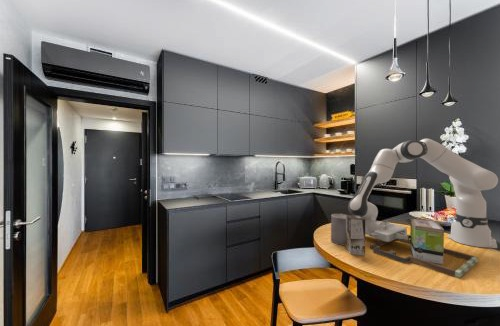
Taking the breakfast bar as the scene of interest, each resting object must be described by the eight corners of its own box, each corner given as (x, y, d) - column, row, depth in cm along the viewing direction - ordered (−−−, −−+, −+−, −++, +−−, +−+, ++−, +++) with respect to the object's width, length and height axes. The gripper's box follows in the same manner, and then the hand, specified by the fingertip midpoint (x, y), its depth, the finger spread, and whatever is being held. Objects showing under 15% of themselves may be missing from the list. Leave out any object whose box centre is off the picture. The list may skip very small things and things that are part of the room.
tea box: (444, 265, 89) (444, 229, 89) (413, 259, 94) (414, 225, 94) (436, 252, 102) (436, 220, 102) (409, 247, 107) (409, 217, 107)
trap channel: (393, 238, 120) (393, 235, 120) (477, 261, 92) (477, 257, 92) (365, 249, 104) (365, 245, 104) (456, 281, 77) (456, 275, 77)
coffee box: (365, 255, 98) (365, 219, 98) (350, 254, 99) (350, 219, 99) (359, 248, 107) (359, 214, 106) (345, 246, 108) (345, 214, 108)
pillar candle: (338, 237, 121) (338, 210, 121) (354, 242, 113) (355, 213, 113) (327, 240, 116) (327, 212, 116) (343, 246, 108) (344, 216, 108)
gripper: (367, 227, 109) (398, 234, 97) (388, 221, 120) (418, 227, 108) (367, 239, 109) (398, 249, 97) (388, 232, 120) (418, 240, 108)
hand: (409, 237), depth 103 cm, fingers closed
